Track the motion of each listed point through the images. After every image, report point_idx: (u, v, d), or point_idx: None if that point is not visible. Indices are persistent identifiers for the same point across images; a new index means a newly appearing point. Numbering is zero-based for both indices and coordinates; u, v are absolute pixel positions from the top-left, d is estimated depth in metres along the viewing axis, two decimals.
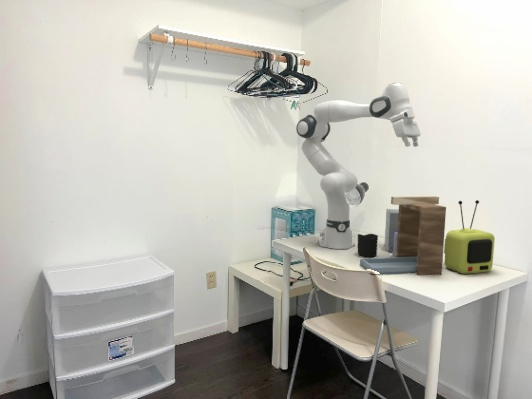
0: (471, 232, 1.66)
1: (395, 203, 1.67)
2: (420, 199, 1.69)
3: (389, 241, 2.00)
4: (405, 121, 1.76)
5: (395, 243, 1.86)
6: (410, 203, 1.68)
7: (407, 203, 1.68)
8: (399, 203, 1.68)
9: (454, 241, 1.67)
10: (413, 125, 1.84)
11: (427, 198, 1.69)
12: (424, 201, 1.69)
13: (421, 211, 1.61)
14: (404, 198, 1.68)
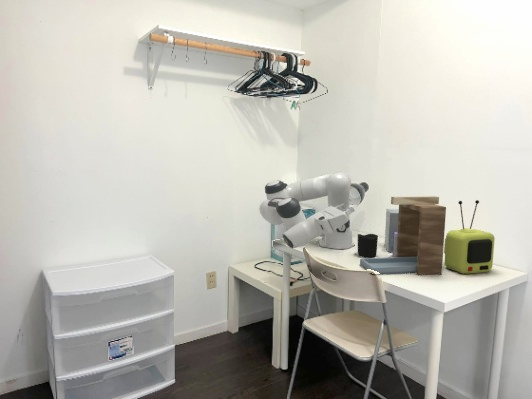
0: (471, 232, 1.66)
1: (395, 203, 1.67)
2: (420, 199, 1.69)
3: (389, 241, 2.00)
4: (328, 217, 1.60)
5: (395, 243, 1.86)
6: (410, 203, 1.68)
7: (407, 203, 1.68)
8: (399, 203, 1.68)
9: (454, 241, 1.67)
10: (324, 213, 1.70)
11: (427, 198, 1.69)
12: (424, 201, 1.69)
13: (421, 211, 1.61)
14: (404, 198, 1.68)
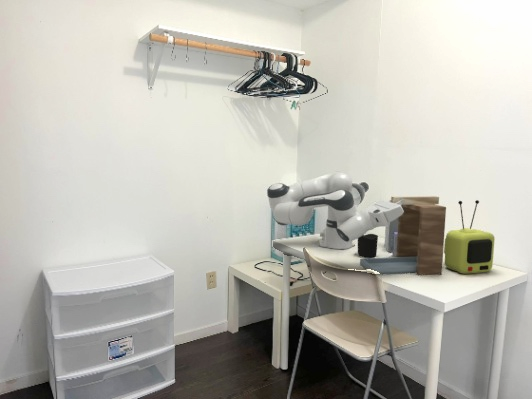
0: (471, 232, 1.66)
1: None
2: (420, 199, 1.69)
3: (389, 241, 2.00)
4: (383, 209, 1.63)
5: (395, 243, 1.86)
6: (410, 203, 1.68)
7: (407, 203, 1.68)
8: None
9: (454, 241, 1.67)
10: (375, 206, 1.73)
11: (427, 198, 1.69)
12: (424, 201, 1.69)
13: (421, 211, 1.61)
14: (404, 198, 1.68)
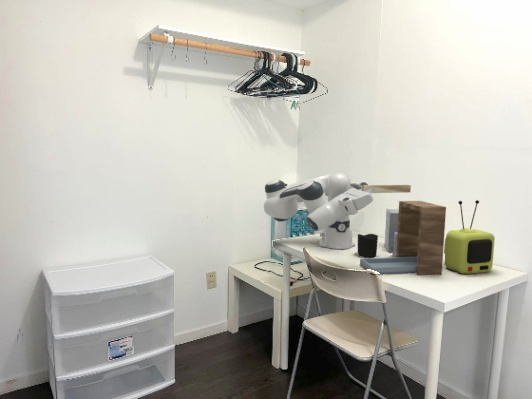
0: (471, 232, 1.66)
1: None
2: (391, 187, 1.66)
3: (389, 241, 2.00)
4: (352, 198, 1.60)
5: (395, 243, 1.86)
6: (381, 191, 1.66)
7: (378, 191, 1.65)
8: None
9: (454, 241, 1.67)
10: (347, 195, 1.70)
11: (398, 186, 1.66)
12: (396, 189, 1.66)
13: (421, 211, 1.61)
14: (375, 186, 1.65)
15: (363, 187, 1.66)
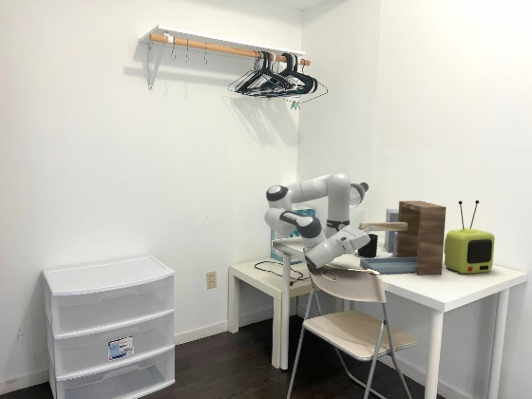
0: (471, 232, 1.66)
1: None
2: (388, 225, 1.68)
3: (389, 241, 2.00)
4: (350, 237, 1.62)
5: (395, 243, 1.86)
6: (378, 230, 1.68)
7: (375, 230, 1.67)
8: None
9: (454, 241, 1.67)
10: (344, 232, 1.72)
11: (395, 224, 1.68)
12: (393, 227, 1.68)
13: (421, 211, 1.61)
14: (372, 225, 1.67)
15: (360, 225, 1.68)
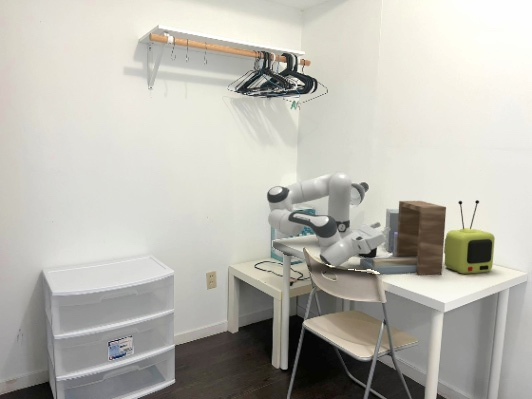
0: (471, 232, 1.66)
1: None
2: (400, 262, 1.71)
3: (389, 241, 2.00)
4: (365, 237, 1.63)
5: (395, 243, 1.86)
6: None
7: (387, 266, 1.70)
8: None
9: (454, 241, 1.67)
10: (359, 231, 1.73)
11: (407, 261, 1.72)
12: (404, 264, 1.71)
13: (421, 211, 1.61)
14: (384, 262, 1.70)
15: (373, 262, 1.71)
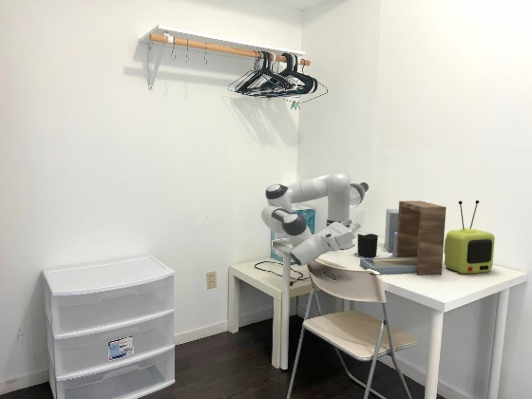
0: (471, 232, 1.66)
1: None
2: (400, 262, 1.71)
3: (389, 241, 2.00)
4: (335, 234, 1.61)
5: (395, 243, 1.86)
6: None
7: (387, 266, 1.70)
8: None
9: (454, 241, 1.67)
10: (330, 229, 1.71)
11: (407, 261, 1.72)
12: (404, 264, 1.71)
13: (421, 211, 1.61)
14: (384, 262, 1.70)
15: (373, 262, 1.71)
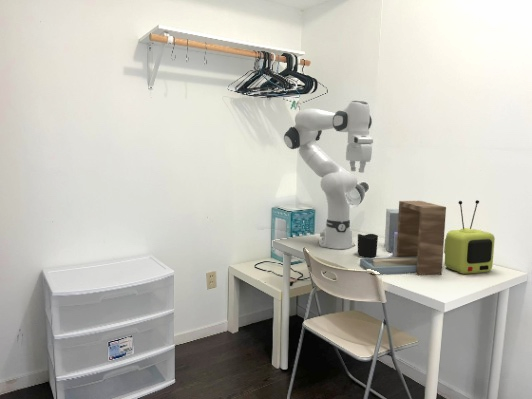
0: (471, 232, 1.66)
1: None
2: (400, 262, 1.71)
3: (389, 241, 2.00)
4: None
5: (395, 243, 1.86)
6: None
7: (387, 266, 1.70)
8: None
9: (454, 241, 1.67)
10: None
11: (407, 261, 1.72)
12: (404, 264, 1.71)
13: (421, 211, 1.61)
14: (384, 262, 1.70)
15: (373, 262, 1.71)
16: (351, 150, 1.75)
